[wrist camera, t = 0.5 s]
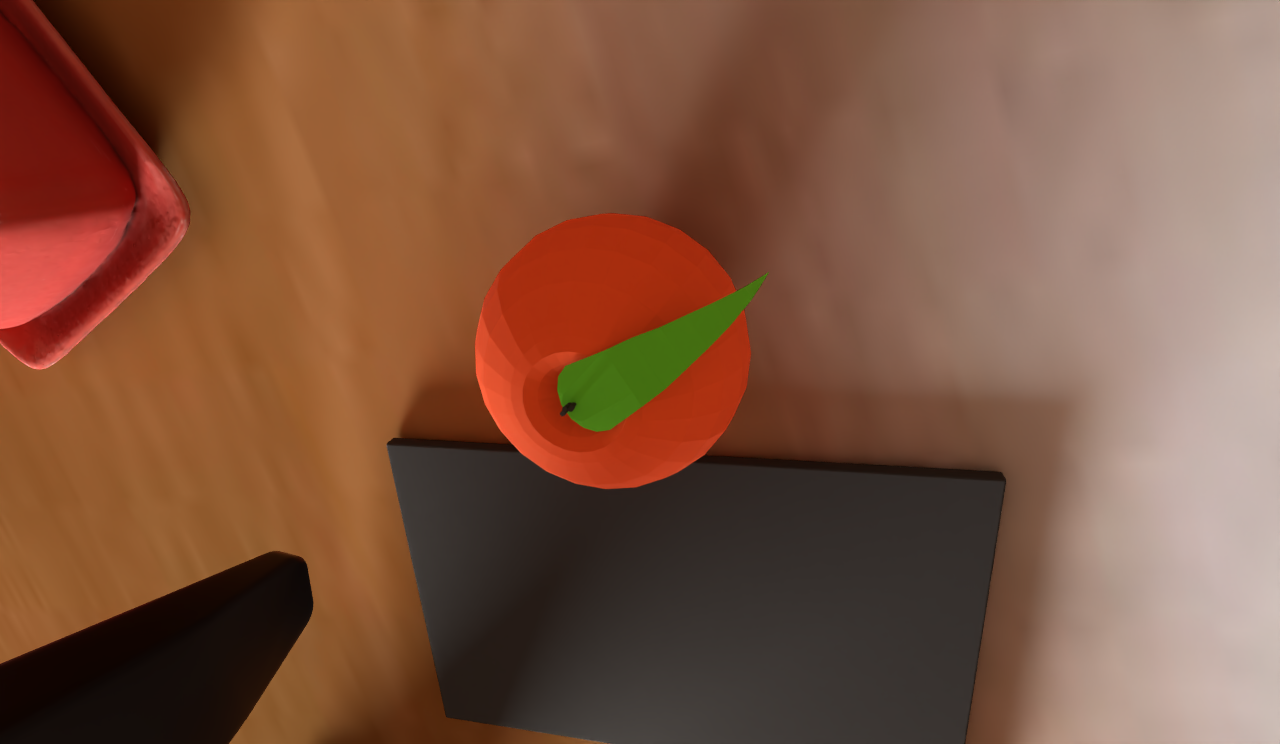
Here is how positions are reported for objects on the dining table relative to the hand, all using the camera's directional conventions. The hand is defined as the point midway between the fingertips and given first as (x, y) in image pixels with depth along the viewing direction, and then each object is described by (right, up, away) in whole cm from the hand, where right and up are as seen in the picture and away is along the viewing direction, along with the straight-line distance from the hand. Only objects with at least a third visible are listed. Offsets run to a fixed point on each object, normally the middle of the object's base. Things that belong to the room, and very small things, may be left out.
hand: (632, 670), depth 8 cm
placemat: (+1, -5, +16) cm, 17 cm away
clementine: (+1, +6, +12) cm, 13 cm away
